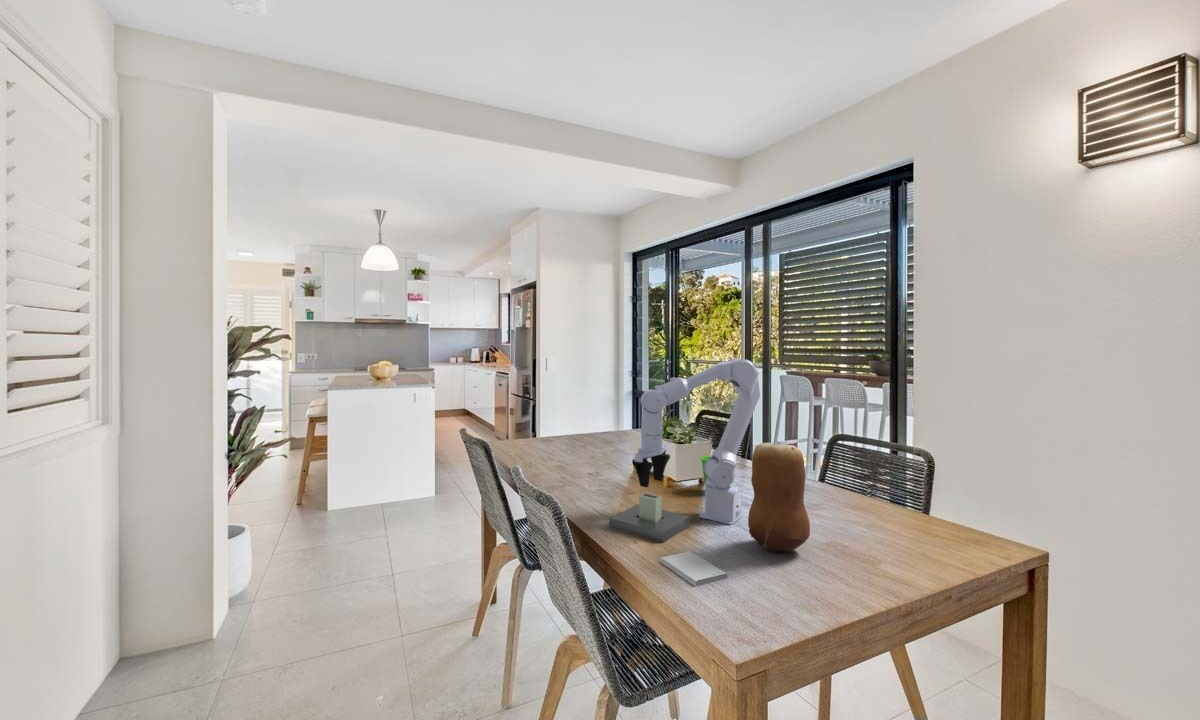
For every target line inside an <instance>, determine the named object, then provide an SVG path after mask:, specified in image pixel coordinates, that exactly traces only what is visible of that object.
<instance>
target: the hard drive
mask: <svg viewBox="0 0 1200 720" xmlns="http://www.w3.org/2000/svg"><path fill="white" fill-rule="evenodd" d="M660 562H661V563H662V564H663V565H664V566H666V567H667V568H668V569H670V570H672V571H673V572H674V573H676V574H677V575H678V576H680V577H681V578H683V579H684V580H686V581H687V582H689V583H690V584H691V585H693V586H695V587H699V586H702V585H703V586H704V585H706V584H711V583H714V582H718V581H721V580H725V579H728V573H727V572H725V571H723V570H722V569H720V568H718V567H716V566H715V565H713V564H711V563H710V562H708V561H707V560H705V559H704V558H702V557H700V556H698V555H697V554H695V553H693V552H692V551H690V550H689V551H684V552H679V553H675V554H671V555H667V556H662V557H661V558H660Z"/></svg>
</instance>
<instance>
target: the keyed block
mask: <svg viewBox="0 0 1200 720" xmlns="http://www.w3.org/2000/svg"><path fill="white" fill-rule="evenodd" d="M638 498H639V499H638V504H639V518H641V519H645V520H649V521H653V522H658V521H660V520H661V515H662V510H663V509H662V508H663V507H662V506H663V505H662V503H663V502H662V501H663V497H662V496H658V495H654V494H650V493H643V494H641V495H639V496H638Z"/></svg>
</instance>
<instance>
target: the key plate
mask: <svg viewBox="0 0 1200 720" xmlns="http://www.w3.org/2000/svg"><path fill="white" fill-rule="evenodd" d="M608 521H609V522H608V523H609V524H608V525H609V526H608V527H609V528H610V529H614V530H617V531H620V532H624V533H629V534H631V535H635V536H638V537H642V538H646V539H649V540H653V541H657V542H658V543H662V544H663V543H665V542H667V541H669V540H670V539H671V538H673V537H675V536H676V535H678V534H680V533H681V532H682V531H684V530H686V529H687V528H689V527H690V526H691V516H689V515H686V514H682V513H677V512H673V511H669V510H664V509H662V515H661V520H660V521H658V522H653V521H649V520H645V519H641V518H639V503H638V504H635V505H634V506H631V507H629V508H627V509H625V510H623V511H620V512H619V513H617V514H615V515H613V516H610V517H609V519H608Z"/></svg>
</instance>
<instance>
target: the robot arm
mask: <svg viewBox="0 0 1200 720" xmlns="http://www.w3.org/2000/svg"><path fill="white" fill-rule="evenodd" d="M759 373H760V372H759V371H758V369H757V368H756V366H755V364H754V362H752V361H750V360H749V359H740V358H737V357H734V358H733V357H732V358H730V359H728V360H723V361H721V362H719V363H716V364H714V365H712V366H709V367H707V368H706V369H704V370H702V371H699V372H697V373H696V374H693V375H692V376H689V377H687V378H686V379H685V378H683V377H679V376H678V377H675V376H673V377H671V378H669V381H668V382H666V383H663V384H661V385H659V384H657V385H654V389H647V390H645V391H644V392H643V394H642V395H641V397H640V400H639V401H640V404H641V405H640V406H642V409H641V410H642V411H641V415H642V416H641V428H640V429H641V430H640V431H641V433H640V434H641V436H640V437H641V440H640V441H641V442H640V443H641V447H639V448H637V452H636V453H635V454H634V459H632V461H631V462H632V465H633V468H634V469H635V471H636V474H637V477H638V482H639V486H640V487H643V488H649V486H650V478H651V477H650V475H651V472H652V473H653V480H655V481H659V482H661V481H663V477H664V474H665V470H666V467H667V464H668V462H669V461H670V458H671V455H670V454H668V445H663V426H664V424H663V423H664V422H663V419H664V418H663V409H664V408H665V406H670V405H672V404H674V403H676V402H678V401H681V400H683V399H685V398H688V397H689V395H690V392H691V391H692V390H694V389H696V388H699V387H702V386H704V385H706V384H708V383H711V382H714V381H716V380H726V381H729V382H730V383H731V384H733V386H734V388H735V390H736V392H737V393H738V396H737V400H736V402H735V404H734V407H733V409H732V412H731V414H730V416H729V419H728V421H727V423H726V426H725V429H724V431H723V434H722V437H721V439H720V441H719V443H718V446H717V448H715V449H714V450H713V451H712V453H711V455H710V456H711V457H710V458H709V459H708V460H707V461H706V462H705V464H704V472H705V474H706V475H707V476H708V477H707V480H706V482H705V481H704V511H703V512H702V513H700V514H699V515H698V517H699V518H702V519H705V520H711V521H715V522H718V523H723V524H727V525H733V524H734V523H736V522H737V521H739V520H740V519H741V518H743V514H742V490H741V489H739V488H738V487H734V486H733V483H734V482H735V476H736V474H735V470H736V467H737V454H738V451H739V449H740V446H741V444H742V441H743V439H744V436H745V434H746V432H747V429H748V426H749V424H750V422H751V419H752V416H753V415H754V412H755V409H756V406H757V404H758V402H759V400H760V396H761V392H760V391H761V390H760V385H759ZM648 459H650V460H651V462H650V461H649V460H648Z"/></svg>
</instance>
